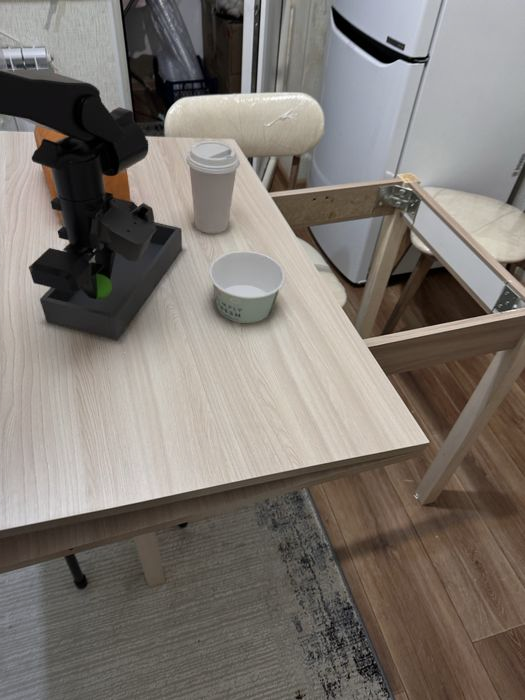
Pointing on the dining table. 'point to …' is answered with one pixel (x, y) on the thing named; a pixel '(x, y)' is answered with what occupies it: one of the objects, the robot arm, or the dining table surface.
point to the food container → (246, 285)
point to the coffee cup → (212, 184)
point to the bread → (112, 183)
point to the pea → (103, 286)
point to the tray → (116, 290)
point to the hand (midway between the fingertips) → (99, 290)
